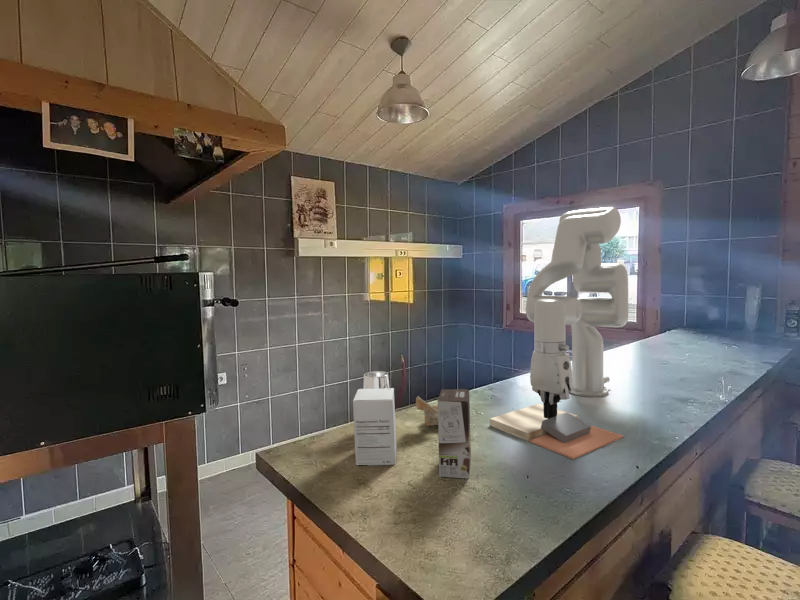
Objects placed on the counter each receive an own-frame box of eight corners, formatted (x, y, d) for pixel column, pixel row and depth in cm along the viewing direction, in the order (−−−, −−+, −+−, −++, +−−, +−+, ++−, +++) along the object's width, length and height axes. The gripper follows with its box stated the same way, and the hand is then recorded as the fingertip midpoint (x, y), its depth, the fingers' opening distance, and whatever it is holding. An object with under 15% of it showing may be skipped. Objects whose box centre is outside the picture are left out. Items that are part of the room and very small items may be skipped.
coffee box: (470, 479, 86) (468, 401, 85) (438, 477, 87) (436, 400, 86) (471, 459, 95) (470, 388, 93) (443, 457, 96) (441, 387, 95)
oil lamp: (406, 430, 113) (405, 393, 112) (452, 408, 129) (451, 376, 128) (432, 438, 107) (431, 399, 107) (477, 414, 123) (476, 381, 122)
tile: (565, 419, 111) (567, 412, 111) (589, 433, 106) (591, 426, 105) (540, 427, 106) (542, 420, 105) (564, 443, 100) (566, 435, 100)
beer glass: (379, 421, 120) (377, 369, 119) (396, 427, 115) (394, 373, 114) (359, 428, 115) (357, 374, 114) (376, 435, 110) (374, 378, 109)
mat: (579, 423, 114) (579, 421, 114) (623, 437, 104) (623, 435, 104) (529, 441, 103) (529, 440, 103) (573, 459, 93) (573, 457, 93)
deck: (538, 410, 125) (538, 403, 125) (578, 422, 114) (578, 415, 114) (489, 425, 114) (489, 418, 114) (528, 441, 103) (528, 433, 103)
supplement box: (359, 449, 102) (357, 388, 101) (396, 448, 102) (394, 387, 101) (354, 466, 93) (351, 399, 92) (395, 465, 93) (392, 398, 92)
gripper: (585, 349, 104) (585, 422, 105) (536, 341, 116) (536, 407, 118) (565, 353, 100) (566, 429, 101) (517, 345, 112) (517, 412, 114)
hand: (550, 417), depth 109 cm, fingers closed
